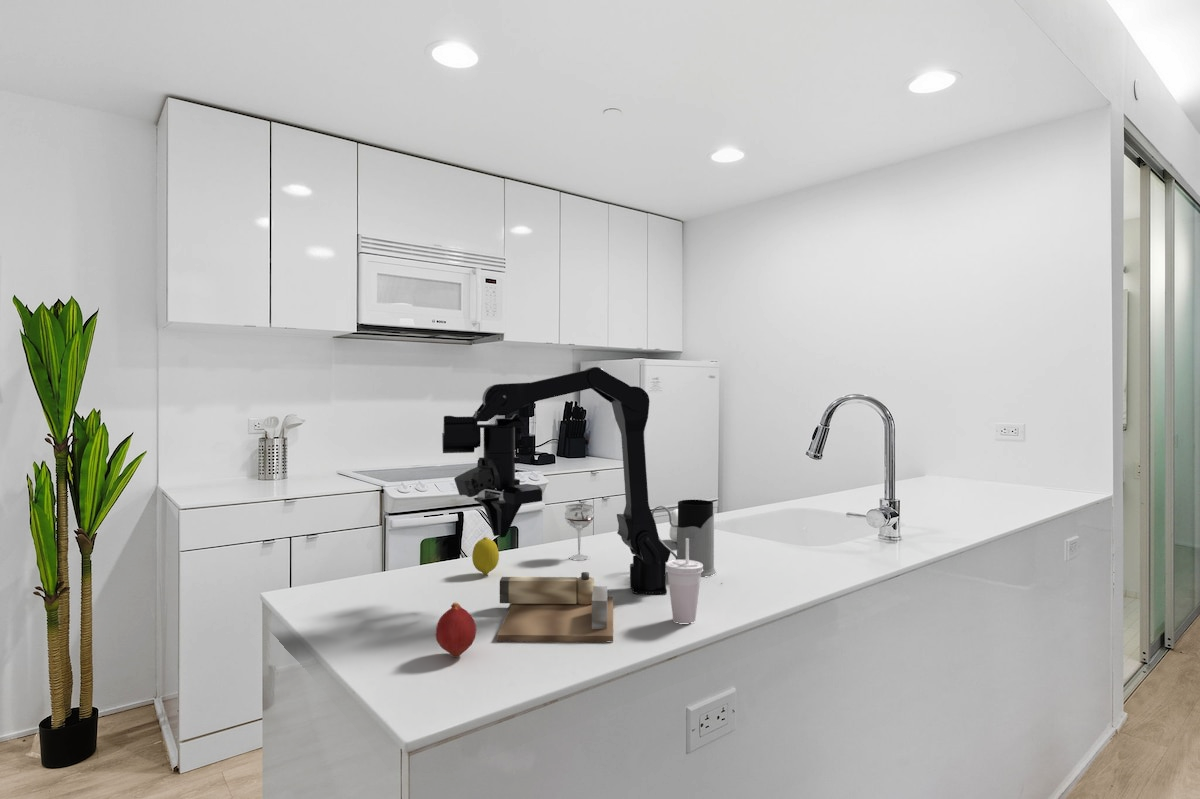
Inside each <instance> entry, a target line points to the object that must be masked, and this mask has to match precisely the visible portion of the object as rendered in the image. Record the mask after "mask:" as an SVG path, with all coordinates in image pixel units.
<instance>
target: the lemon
mask: <svg viewBox="0 0 1200 799" xmlns="http://www.w3.org/2000/svg"><path fill="white" fill-rule="evenodd" d="M471 555H472V556H471V557H472V564H473V566H474V569H476V570H477V571H478V572H481V573H482V574H483V575H484V576H487V575H488V574H489V573H490V572H492V571H493V570H494V569H496V567H497V566H498V564H499V560H500V552H499V549H498V546H497V544H496V542H495V541H494V540H492V539H490V538H488V537H487V536H485V537H483V538H482V539H480V540H478V541H477V542H476V543H475V545H474V547H473V550H472V554H471Z"/></svg>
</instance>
